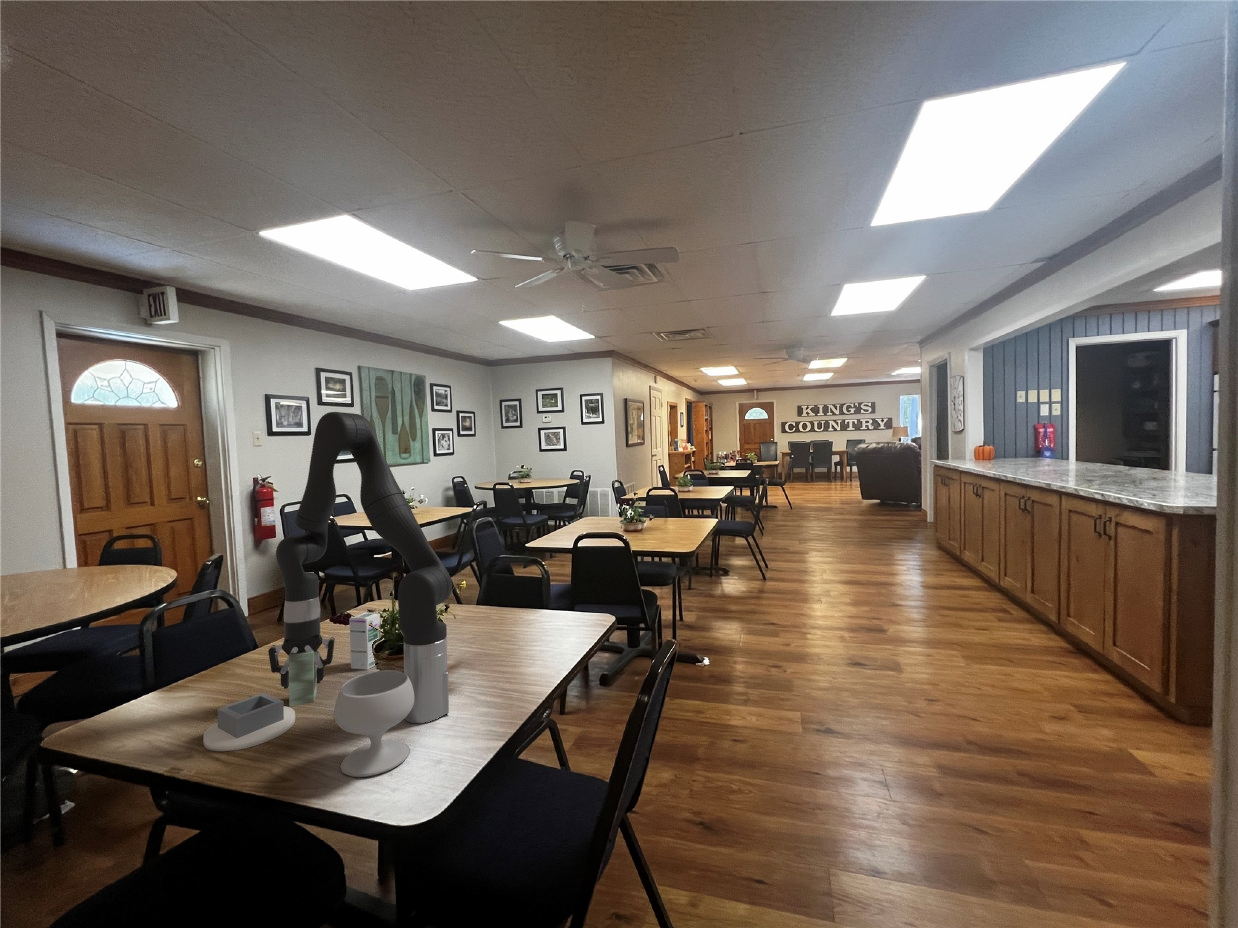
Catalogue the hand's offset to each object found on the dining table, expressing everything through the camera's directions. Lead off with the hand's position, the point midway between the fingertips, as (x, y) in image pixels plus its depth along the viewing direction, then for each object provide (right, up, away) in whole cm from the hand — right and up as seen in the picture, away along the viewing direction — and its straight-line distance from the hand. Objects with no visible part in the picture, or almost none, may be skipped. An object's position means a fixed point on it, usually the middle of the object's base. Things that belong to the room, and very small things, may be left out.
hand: (303, 684), depth 123 cm
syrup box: (+5, -4, +21) cm, 22 cm away
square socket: (-2, -4, -14) cm, 15 cm away
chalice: (+30, -3, -26) cm, 40 cm away
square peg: (0, -4, 0) cm, 4 cm away
